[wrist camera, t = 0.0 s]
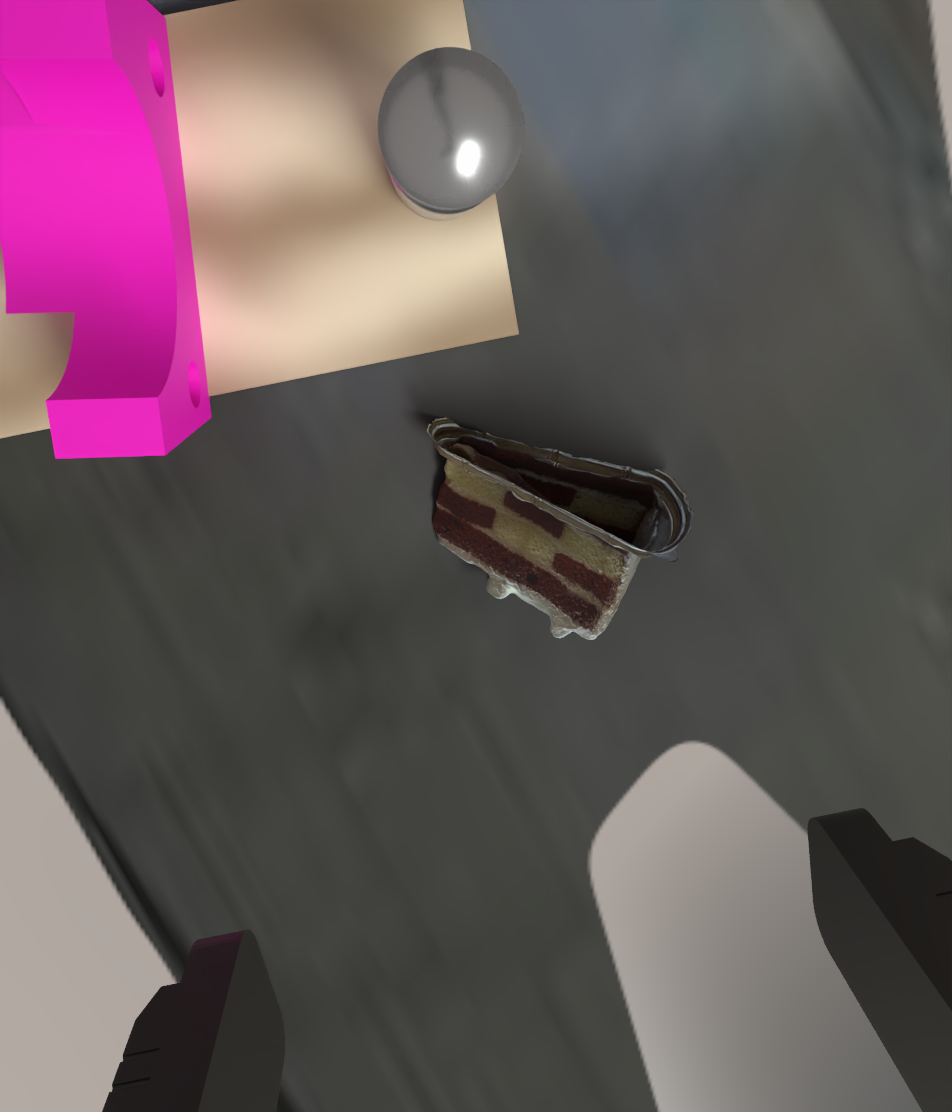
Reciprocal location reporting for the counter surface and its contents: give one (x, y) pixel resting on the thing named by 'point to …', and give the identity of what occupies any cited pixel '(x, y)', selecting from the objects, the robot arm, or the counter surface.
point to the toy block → (101, 220)
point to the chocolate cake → (553, 523)
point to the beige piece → (321, 194)
